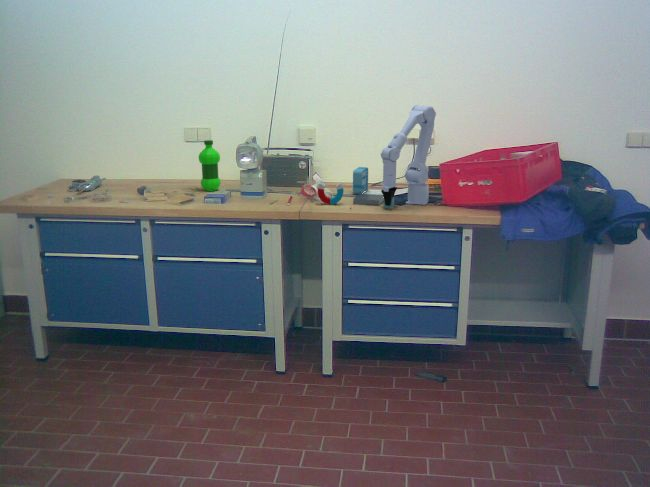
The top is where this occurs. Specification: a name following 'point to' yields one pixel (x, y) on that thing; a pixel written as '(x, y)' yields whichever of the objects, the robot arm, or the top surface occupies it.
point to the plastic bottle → (209, 167)
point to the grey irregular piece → (86, 184)
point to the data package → (360, 180)
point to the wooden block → (390, 204)
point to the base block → (368, 199)
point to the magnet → (327, 199)
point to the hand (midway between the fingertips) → (388, 204)
